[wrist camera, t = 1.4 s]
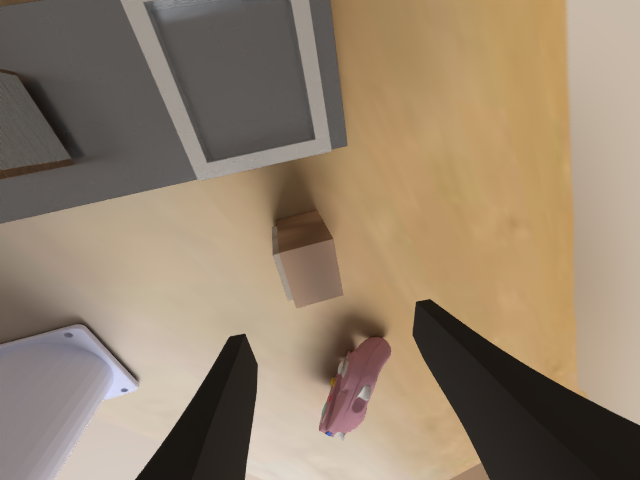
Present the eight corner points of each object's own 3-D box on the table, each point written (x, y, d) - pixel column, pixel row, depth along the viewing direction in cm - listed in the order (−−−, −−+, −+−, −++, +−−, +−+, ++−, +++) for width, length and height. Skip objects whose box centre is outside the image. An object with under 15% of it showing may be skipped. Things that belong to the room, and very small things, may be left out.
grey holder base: (12, 217, 13) (-164, 280, 8) (-139, 44, 10) (-664, -62, 4) (342, 144, 15) (383, 154, 10) (320, -26, 12) (365, -165, 6)
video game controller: (352, 319, 25) (342, 373, 18) (393, 337, 24) (397, 400, 18) (323, 380, 28) (305, 444, 22) (358, 397, 28) (351, 468, 21)
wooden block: (285, 266, 18) (289, 310, 14) (270, 221, 17) (271, 254, 12) (325, 255, 19) (343, 295, 14) (316, 209, 17) (333, 238, 12)
